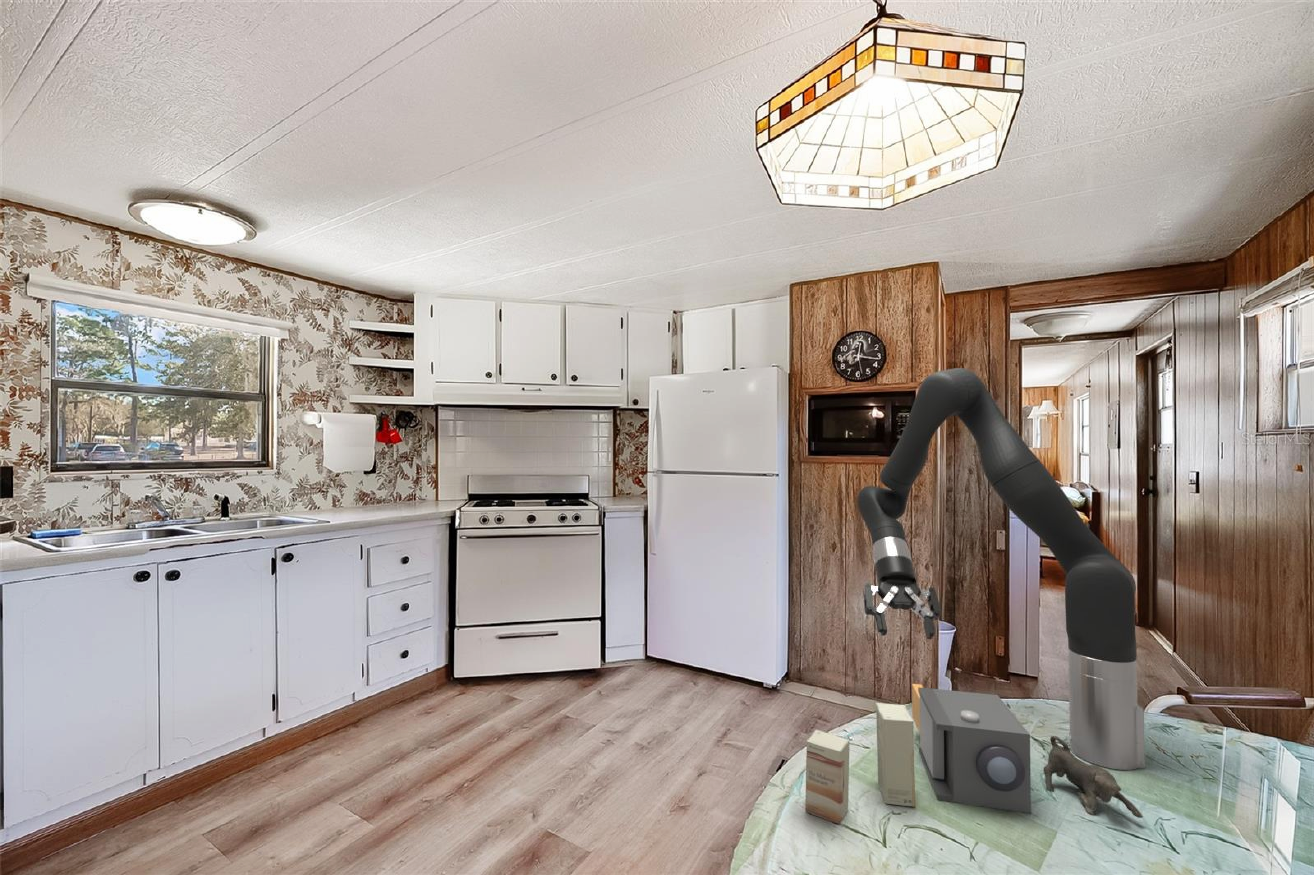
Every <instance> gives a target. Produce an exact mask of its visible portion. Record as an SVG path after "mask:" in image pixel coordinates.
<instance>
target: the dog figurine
mask: <svg viewBox="0 0 1314 875" xmlns="http://www.w3.org/2000/svg"><path fill="white" fill-rule="evenodd" d="M1049 740H1050V744H1051V746H1052V747H1051V749H1050V751H1049V754H1048V758H1047V764H1046V765H1045V766H1044V767H1043V770H1042V771H1043V774H1044V780H1045V789H1046V790H1047V791H1049V792H1054V789H1055V788H1054V785H1053V784H1052V783H1053V782H1052V781H1053V774H1056V776H1057V777H1058V778H1063V777H1065V778H1066V779H1067V780H1068V781H1069V782H1070V783H1071V784H1072V785H1074V786H1075V787H1077V789H1078V790H1080V792H1079V791H1078V792H1077V795H1078V797H1079V800H1080V802H1081V803H1082V805H1083V807H1085V811H1086V813H1087V814H1089V815H1091V816H1092V815H1093V816H1096V812H1095V811H1096V810H1097V808H1098V802H1097V801H1098V799H1100V801H1102V802H1103V803H1105V804H1109V802H1111V801H1112V798H1115V799H1116V800H1118V801H1120V802H1121V803H1123V804H1124V806H1125V807H1126V809H1127V810H1128V811H1130V812H1131V814H1132V815H1133V816H1134V817H1136V818H1138V819H1142V818H1144V816H1143V814H1142V812H1141V811H1140V810H1139V809H1138V808H1137V807H1136V805H1135V804H1134V803H1132V802H1131V801H1130V800H1129V799H1128V798H1126V797H1125V796H1124V795H1123V794H1122V793H1121V791H1122V788H1121V786H1120V785H1119V784H1118V782H1117V780H1116V778H1115V776H1114V775H1113V774H1111V773H1110V771H1108V770H1107V769H1103V767H1101V766H1100V767H1099V765H1097V766H1096V765H1095V764H1089V763H1086V762H1084V761H1083V760H1080V759H1078V758H1077V757H1076V756H1074V755H1075V754H1073V752H1072V750H1071V749H1070V746H1069V745H1068V744H1067V743H1066V742H1065V741H1064V740H1063V739H1061V738H1060V737H1059V736H1056V735H1051V736H1050V739H1049ZM1057 742H1059V743H1060V744H1061V746H1060V745H1059V744H1058V743H1057ZM1081 791H1082V792H1081Z"/></svg>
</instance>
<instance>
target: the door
mask: <svg viewBox="0 0 1314 875" xmlns="http://www.w3.org/2000/svg"><path fill="white" fill-rule="evenodd" d="M923 686H924V685H923V684H921V683H920V684H919V683H912V684H911V690H912V691H911V695H912V696H911V699H912V700H911V701H912V702H911V704H912V705H911V707H912V708H911V709H912V710H911V711H912V714H911V717H912V719H913V723H914V724H915V727H916V729H917V731H918V734H919V748H921V750H922V752H923V755H924V757H925V760H926V762H927V765H928V767H929V770H930V772H931V775H932V777H933V778H938V779H944V730H937V729H936V727H935V725H934V723H933V721H932V719H931V717H930V715H929V713H928V711H927V709H926V707H925V705H924V702H923V700H922V698H921V696H920V694H919V692H918V687H920V688H924V687H923Z"/></svg>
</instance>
